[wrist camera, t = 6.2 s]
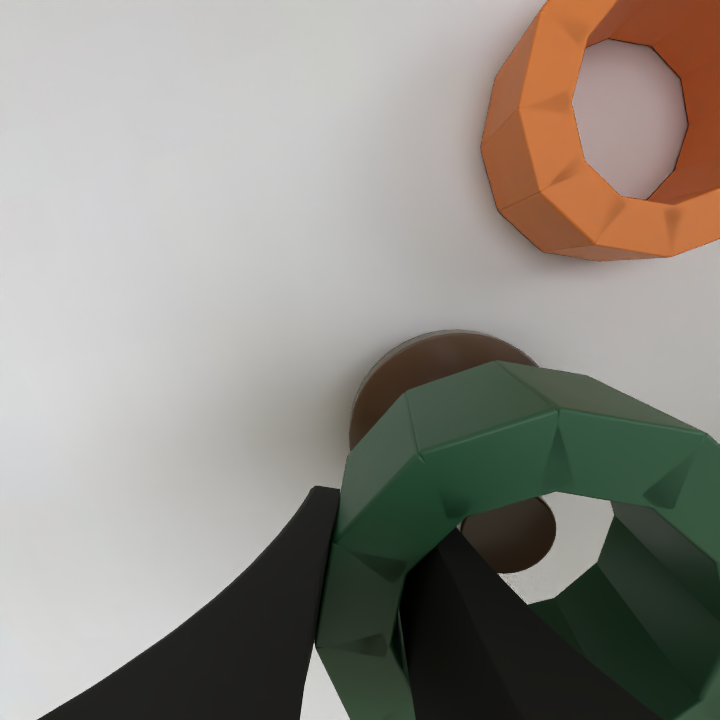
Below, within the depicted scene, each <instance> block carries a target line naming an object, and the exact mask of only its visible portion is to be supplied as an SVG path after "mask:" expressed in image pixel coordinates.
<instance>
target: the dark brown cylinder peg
mask: <svg viewBox="0 0 720 720" xmlns="http://www.w3.org/2000/svg"><path fill="white" fill-rule="evenodd" d="M496 360H498V361H504V362H510V363H516V364H522V365H528V366H534V367H539V366H538V365H537V364H536V363H535V362H534V361H533V360H532V359H531V358H530V357H529V356H527V355H526V354H525V353H523V352H522V351H521V350H519V349H518V348H516V347H514V346H512V345H510V344H508V343H507V342H504V341H502V340H500V339H498V338H495V337H493V336H490V335H487V334H484V333H480V332H475V331H468V330H443V331H437V332H431V333H428V334H424V335H421V336H418V337H415V338H413V339H411V340H409V341H406V342H404V343H403V344H401V345H399V346H398V347H396V348H394V349H393V350H392V351H390V352H389V353H388V354H387V355H385V356H384V357H383V358H382V359H381V360H380V361H379V362H378V363H377V364H376V365H375V366H374V367H373V368H372V369H371V371H370V372H369V373H368V375H367V376H366V378H365V379H364V381H363V383H362V384H361V386H360V388H359V390H358V393H357V395H356V398H355V400H354V404H353V408H352V412H351V420H350V431H349V441H350V451H352V450H353V448H354V447H355V446H356V445H357V444H358V443H359V442H360V441H361V439H362V438H363V437H364V436H365V435H366V434H367V433H368V432H369V431H370V429H371V428H372V427H373V426H374V425H375V424H376V423H377V422H378V420H379V419H380V418H381V417H382V416H383V415H384V414H385V413H386V412H387V410H388V409H389V408H390V407H391V406H392V405H393V404H394V403H395V401H396V400H397V399H398V398H399V397H400V396H401V395H402V394H403V393H406V391H407V390H409V389H412V388H415V387H418V386H421V385H424V384H426V383H429V382H432V381H435V380H438V379H441V378H444V377H447V376H450V375H453V374H456V373H459V372H462V371H464V370H467V369H470V368H473V367H476V366H479V365H482V364H485V363H488V362H491V361H496ZM456 527H457V528H458V529H459V531H460V532H461V533H462V534H463V535H464V537H465V538H466V539H467V540H468V541H469V542H470V544H471V545H472V546H473V547H474V548H475V550H476V551H477V552H478V553H479V554H480V555H481V556H482V558H483V559H484V560H485V561H486V562H487V563H488V564H489V565H490V566H491V568H492V569H493V570H494V571H495V572H496V573H503V574H504V573H515V572H519V571H523V570H525V569H528V568H530V567H532V566H533V565H535V564H537V563H538V562H539V561H540V560H542V559H543V558H544V557H545V556H546V554H547V553H548V552H549V550H550V549H551V547H552V545H553V543H554V540H555V536H556V521H555V517H554V514H553V512H552V510H551V508H550V507H549V506H548V504H547V503H546V502H545V501H544V499H543V498H542V497H541V496H538V497H535V498H532V499H528V500H525V501H521V502H518V503H514V504H511V505H507V506H504V507H500V508H497V509H494V510H490V511H487V512H483V513H480V514H476V515H473V516H469V517H466V518H464V519H463V520H462V521H461V522H460V523H459V524H458V525H457V526H456Z"/></svg>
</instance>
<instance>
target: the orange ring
mask: <svg viewBox="0 0 720 720" xmlns="http://www.w3.org/2000/svg"><path fill="white" fill-rule="evenodd" d="M607 38H611V39H616V40H621V41H627V42H632V43H638V44H643V45H649V46H652V47H653V48H654V49H655V51H656V52H657V53H658V54H659V55H660V56H661V57H662V58H663V59H664V60H665V61H666V62H667V64H668V65H669V66H670V67H671V68H672V69H673V70H674V71H675V72H676V73H677V74H678V76H679V77H680V78H681V80H682V86H683V92H684V98H685V104H686V110H687V116H688V122H689V127H688V130H687V133H686V136H685V140H684V143H683V146H682V149H681V152H680V155H679V158H678V161H677V164H676V168H675V171H674V172H673V173H672V174H671V175H670V176H669V177H668V178H667V179H666V180H665V181H664V182H663V184H662V185H661V186H660V187H659V188H658V189H657V190H656V191H655V192H654V193H653V194H652V195H651V197H650V198H649V199H648V200H647V201H646V200H641V199H635V198H629V197H623V196H620V195H619V194H618V193H617V192H616V191H615V190H614V189H613V188H612V187H611V186H610V185H609V184H608V183H607V182H606V181H605V180H604V179H603V178H602V177H601V176H600V175H599V174H598V173H597V172H596V171H595V170H594V169H593V168H592V167H591V166H590V165H589V164H588V163H587V162H586V161H585V160H584V155H583V151H582V146H581V142H580V138H579V133H578V129H577V124H576V120H575V116H574V111H573V107H572V103H571V102H572V98H573V94H574V90H575V86H576V82H577V78H578V74H579V70H580V66H581V62H582V58H583V55H584V51H585V48H586V47H588V46H591V45H593V44H595V43H598V42H600V41H602V40H605V39H607ZM481 153H482V156H483V160H484V163H485V167H486V170H487V174H488V177H489V181H490V184H491V188H492V191H493V195H494V199H495V202H496V206H497V209H498V211H499V212H500V213H501V214H502V215H503V216H504V217H505V218H506V219H507V220H508V221H509V222H511V223H512V224H513V225H514V226H515V227H516V228H517V229H518V230H519V231H520V232H521V233H523V234H524V235H525V236H526V237H527V238H528V239H529V240H530V241H531V242H532V243H533V244H534V245H536V246H537V247H538V248H539V249H540V250H542V252H547V253H553V254H559V255H565V256H571V257H577V258H583V259H589V260H595V261H611V260H630V259H649V258H667V257H672V256H675V255H677V254H680V253H683V252H686V251H688V250H691V249H694V248H697V247H699V246H702V245H705V244H707V243H710V242H713V241H716V240H718V239H720V0H547V2H546V3H545V4H544V6H543V7H542V8H541V10H540V11H539V12H538V14H537V15H536V17H535V18H534V20H533V21H532V23H531V24H530V26H529V27H528V29H527V30H526V32H525V33H524V35H523V36H522V38H521V39H520V41H519V42H518V44H517V45H516V47H515V48H514V50H513V51H512V53H511V54H510V56H509V57H508V59H507V60H506V62H505V63H504V65H503V66H502V68H501V69H500V71H499V72H498V74H497V76H496V78H495V81H494V86H493V90H492V95H491V100H490V105H489V109H488V114H487V119H486V124H485V128H484V133H483V138H482V143H481Z"/></svg>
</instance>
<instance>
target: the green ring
mask: <svg viewBox="0 0 720 720" xmlns="http://www.w3.org/2000/svg"><path fill="white" fill-rule="evenodd" d="M556 491H557V492H563V493H569V494H574V495H580V496H586V497H592V498H597V499H603V500H609V501H611V505H612V508H613V512H614V517H613V520H612V523H611V525H610V528H609V531H608V534H607V536H606V539H605V542H604V545H603V548H602V550H601V553H600V556H599V559H598V561H597V563H596V564H594V565H593V566H592V567H591V568H590V569H588V570H587V571H586V572H585V573H584V574H582V575H581V576H580V577H579V578H578V579H576V580H575V581H574V582H573V583H572V584H571V585H569V586H568V587H567V588H566V589H565V590H563V591H562V592H561V593H560V594H559V595H557V596H556V597H555V598H552V599H548V600H544V601H540V602H536V603H532V604H528V606H529V607H530V608H531V609H532V610H533V611H534V612H535V613H536V614H537V615H538V616H539V617H540V618H542V619H543V620H544V621H545V622H546V623H547V624H548V625H549V626H550V627H551V628H553V629H554V630H555V631H556V632H557V633H558V634H559V635H560V636H561V637H563V638H564V639H565V640H566V641H567V642H568V643H569V644H570V645H571V646H572V647H574V648H575V649H576V650H577V651H578V652H579V653H581V654H582V655H583V656H584V657H585V658H587V659H588V660H589V661H590V662H591V663H592V664H594V665H595V666H596V667H597V668H599V669H600V670H601V671H602V672H604V673H605V674H606V675H607V676H609V677H610V678H611V679H612V680H614V681H615V682H616V683H617V684H619V685H620V686H621V687H622V688H624V689H625V690H626V691H627V692H629V693H630V694H631V695H632V696H634V697H635V698H636V699H637V700H639V701H640V702H641V703H643V704H644V705H645V706H647V707H648V708H649V709H651V710H652V711H653V712H655V713H656V714H657V715H659V716H660V717H661V718H663V719H664V720H720V444H718V443H717V442H716V441H715V440H714V439H713V438H712V437H711V436H709V435H708V434H707V433H705V432H703V431H701V430H699V429H697V428H695V427H693V426H691V425H688V424H686V423H684V422H682V421H680V420H678V419H676V418H674V417H672V416H670V415H668V414H666V413H664V412H662V411H660V410H657V409H655V408H653V407H651V406H649V405H647V404H645V403H643V402H641V401H639V400H637V399H635V398H633V397H631V396H628V395H626V394H624V393H622V392H620V391H618V390H616V389H614V388H612V387H610V386H608V385H606V384H604V383H602V382H600V381H597V380H595V379H593V378H591V377H589V376H587V375H581V374H576V373H570V372H564V371H558V370H552V369H546V368H540V367H534V366H528V365H522V364H516V363H510V362H504V361H498V360H496V361H491V362H488V363H485V364H482V365H479V366H476V367H473V368H470V369H467V370H464V371H462V372H459V373H456V374H453V375H450V376H447V377H444V378H441V379H438V380H435V381H432V382H429V383H426V384H424V385H421V386H418V387H415V388H412V389H409V390H407V391H406V393H403V394H402V395H401V396H400V397H399V398H398V399H397V400H396V401H395V403H394V404H393V405H392V406H391V407H390V408H389V409H388V410H387V412H386V413H385V414H384V415H383V416H382V417H381V418H380V419H379V420H378V422H377V423H376V424H375V425H374V426H373V427H372V428H371V429H370V431H369V432H368V433H367V434H366V435H365V436H364V437H363V438H362V439H361V441H360V442H359V443H358V444H357V445H356V446H355V447H354V448H353V450H352V451H351V452H350V453H349V455H348V456H347V460H346V466H345V471H344V476H343V481H342V487H341V492H340V497H339V507H338V511H337V515H336V519H335V524H334V529H333V534H332V540H331V545H330V551H329V557H328V563H327V569H326V575H325V581H324V587H323V593H322V599H321V605H320V611H319V617H318V623H317V629H316V635H315V641H314V642H315V648H316V650H317V652H318V654H319V656H320V659H321V661H322V663H323V665H324V667H325V669H326V671H327V673H328V675H329V677H330V679H331V681H332V683H333V685H334V687H335V689H336V691H337V693H338V695H339V697H340V700H341V702H342V704H343V706H344V708H345V710H346V712H347V714H348V716H349V718H350V720H416V719H415V712H414V706H413V699H412V693H411V686H410V680H409V673H408V667H407V660H406V654H405V647H404V641H403V634H402V627H401V620H400V613H399V607H400V602H401V598H402V594H403V589H404V585H405V580H406V576H407V573H408V572H409V571H410V570H411V569H412V568H413V567H415V566H416V565H417V564H418V563H419V562H420V561H421V560H422V559H423V558H424V557H425V556H426V555H427V554H428V553H429V552H430V551H431V550H432V549H433V548H434V547H435V546H436V545H437V544H438V543H439V542H440V541H442V540H443V539H444V538H445V537H446V536H447V535H448V534H449V533H450V532H451V531H452V530H453V529H454V528H455V527H456V526H457V525H458V524H459V523H460V522H461V521H462V520H463V519H464V518H466V517H469V516H473V515H476V514H480V513H483V512H487V511H490V510H494V509H497V508H500V507H504V506H507V505H511V504H514V503H518V502H521V501H525V500H528V499H532V498H535V497H538V496H542V495H545V494H549V493H552V492H556Z"/></svg>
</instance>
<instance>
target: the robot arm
mask: <svg viewBox="0 0 720 720" xmlns="http://www.w3.org/2000/svg"><path fill="white" fill-rule="evenodd" d="M339 497H340V489H336V488H329V487H322V486H314V487H313V488H312V489H310V492H309V494H308V495H307V497H306V499H305V500H304V502H303V503H302V505H301V506H300V508H299V509H298V510H297V512H296V513H295V515H294V516H293V517H292V518H291V520H290V521H289V522H288V523H287V525H286V526H285V527H284V528H283V530H282V531H281V532H280V533H279V535H278V536H277V537H276V538H275V539H274V540H273V541H272V542H271V544H270V545H269V546H268V547H267V548H266V549H265V550H264V551H263V552H262V553H261V554H260V555H259V556H258V557H257V558H256V560H255V561H254V562H253V563H252V564H251V565H250V566H249V567H248V568H247V569H246V570H245V571H244V572H243V573H241V574H240V575H239V576H238V577H237V578H236V579H235V580H234V581H233V582H232V583H231V584H230V585H228V586H227V587H226V588H225V589H224V590H223V591H222V592H221V593H220V594H218V595H217V596H216V597H215V598H214V599H212V600H211V601H210V602H209V603H208V604H206V605H205V606H204V607H203V608H201V609H200V610H199V611H198V612H196V613H195V614H194V615H193V616H192V617H190V618H189V619H188V620H187V621H185V622H184V623H183V624H181V625H180V626H179V627H177V628H176V629H175V630H174V631H172V632H171V633H170V634H168V635H167V636H165V637H164V638H163V639H161V640H160V641H158V642H157V643H156V644H154V645H153V646H151V647H150V648H148V649H147V650H145V651H144V652H142V653H141V654H140V655H138V656H137V657H135V658H134V659H132V660H131V661H129V662H128V663H127V664H125V665H124V666H122V667H121V668H119V669H118V670H116V671H115V672H113V673H112V674H111V675H109V676H108V677H106V678H105V679H103V680H102V681H100V682H98V683H97V684H95V685H94V686H92V687H91V688H89V689H87V690H86V691H84V692H83V693H81V694H79V695H78V696H76V697H74V698H73V699H71V700H69V701H68V702H66V703H64V704H63V705H61V706H59V707H58V708H56V709H54V710H53V711H51V712H49V713H48V714H46V715H44V716H43V717H41V718H39V719H37V720H300V714H301V706H302V699H303V691H304V685H305V681H306V676H307V672H308V667H309V663H310V658H311V653H312V649H313V644H314V640H315V635H316V629H317V623H318V617H319V611H320V605H321V599H322V593H323V587H324V581H325V575H326V569H327V563H328V557H329V551H330V545H331V540H332V534H333V529H334V524H335V519H336V515H337V511H338V507H339ZM399 613H400V620H401V627H402V634H403V641H404V647H405V654H406V660H407V667H408V673H409V680H410V686H411V693H412V699H413V706H414V712H415V719H416V720H664V719H663V718H661V717H660V716H659V715H657V714H656V713H655V712H653V711H652V710H651V709H649V708H648V707H647V706H645V705H644V704H643V703H641V702H640V701H639V700H637V699H636V698H635V697H634V696H632V695H631V694H630V693H629V692H627V691H626V690H625V689H624V688H622V687H621V686H620V685H619V684H617V683H616V682H615V681H614V680H612V679H611V678H610V677H609V676H607V675H606V674H605V673H604V672H602V671H601V670H600V669H599V668H597V667H596V666H595V665H594V664H592V663H591V662H590V661H589V660H588V659H587V658H585V657H584V656H583V655H582V654H581V653H579V652H578V651H577V650H576V649H575V648H574V647H572V646H571V645H570V644H569V643H568V642H567V641H566V640H565V639H564V638H563V637H561V636H560V635H559V634H558V633H557V632H556V631H555V630H554V629H553V628H551V627H550V626H549V625H548V624H547V623H546V622H545V621H544V620H543V619H542V618H540V617H539V616H538V615H537V614H536V613H535V612H534V611H533V610H532V609H531V608H530V607H529V606H528V605H527V604H526V603H525V602H524V601H523V600H522V599H521V598H520V597H519V596H518V595H517V594H516V593H515V592H514V591H513V590H512V589H511V588H510V587H509V586H508V585H507V584H506V583H505V582H504V581H503V579H502V578H501V577H500V576H499V575H498V574H497V573H496V572H495V571H494V570H493V569H492V568H491V566H490V565H489V564H488V563H487V562H486V561H485V560H484V559H483V558H482V556H481V555H480V554H479V553H478V552H477V551H476V550H475V548H474V547H473V546H472V545H471V544H470V542H469V541H468V540H467V539H466V538H465V537H464V535H463V534H462V533H461V532H460V531H459V529H458V528H457V527H455V528H454V529H453V530H452V531H451V532H450V533H449V534H448V535H447V536H446V537H445V538H444V539H443V540H442V541H440V542H439V543H438V544H437V545H436V546H435V547H434V548H433V549H432V550H431V551H430V552H429V553H428V554H427V555H426V556H425V557H424V558H423V559H422V560H421V561H420V562H419V563H418V564H417V565H416V566H415V567H413V568H412V569H411V570H410V571H409V572H408V573H407V576H406V580H405V585H404V589H403V594H402V598H401V602H400V607H399Z"/></svg>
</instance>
